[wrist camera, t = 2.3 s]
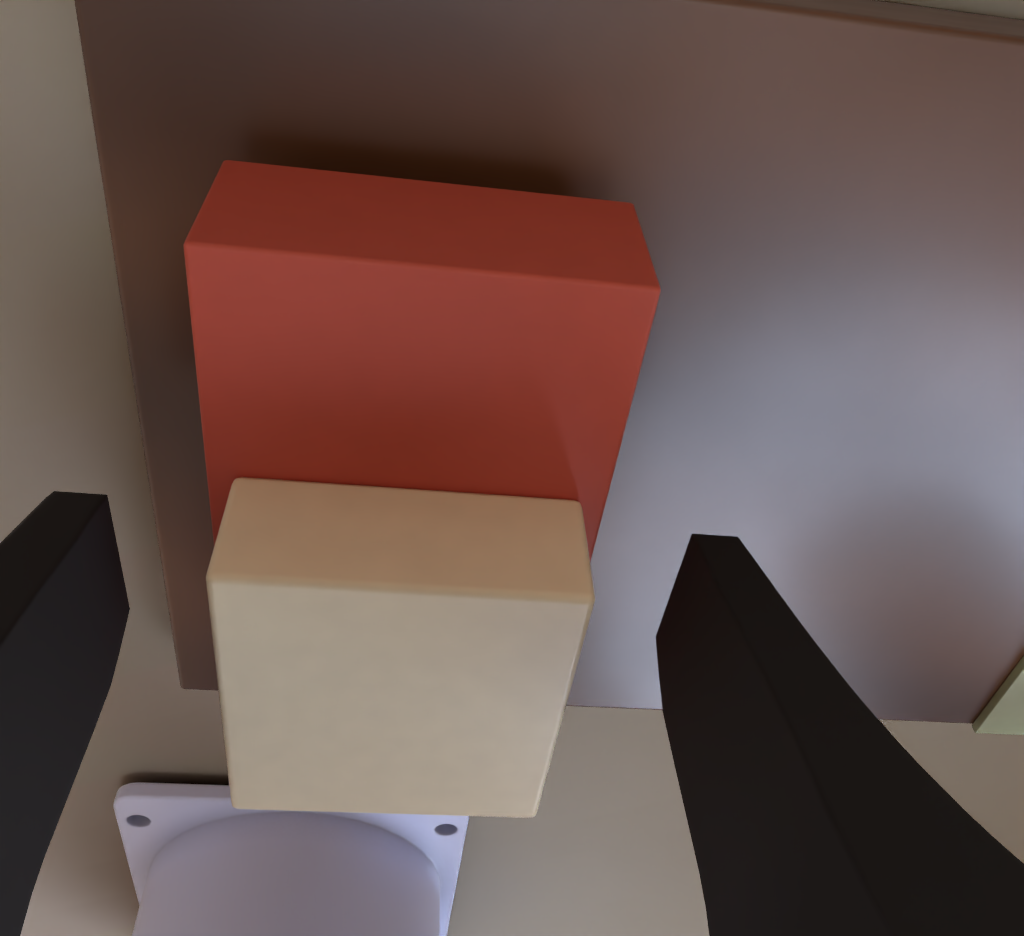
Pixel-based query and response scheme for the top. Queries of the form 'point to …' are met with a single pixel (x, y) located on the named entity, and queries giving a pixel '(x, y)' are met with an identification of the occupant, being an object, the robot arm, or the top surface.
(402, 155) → the board
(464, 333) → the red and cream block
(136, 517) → the top surface
